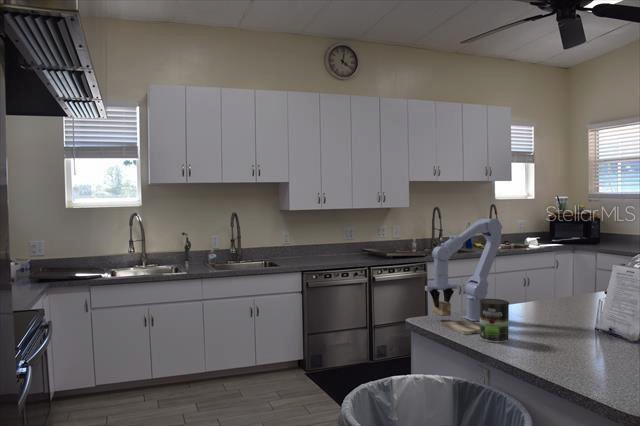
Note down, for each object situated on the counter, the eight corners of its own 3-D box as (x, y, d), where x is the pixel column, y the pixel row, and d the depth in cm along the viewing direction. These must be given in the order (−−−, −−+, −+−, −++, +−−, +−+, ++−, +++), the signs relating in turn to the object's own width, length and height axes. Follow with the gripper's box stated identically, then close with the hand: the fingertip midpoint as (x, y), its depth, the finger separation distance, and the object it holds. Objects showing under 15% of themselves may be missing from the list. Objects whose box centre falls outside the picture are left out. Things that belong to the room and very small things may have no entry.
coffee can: (506, 344, 180) (506, 304, 180) (477, 340, 185) (477, 302, 185) (510, 337, 189) (510, 299, 189) (482, 334, 194) (482, 297, 194)
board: (467, 322, 213) (467, 319, 213) (490, 332, 197) (491, 328, 197) (442, 324, 209) (442, 321, 209) (463, 334, 194) (463, 331, 194)
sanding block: (440, 311, 220) (440, 299, 220) (450, 315, 213) (450, 303, 212) (432, 311, 219) (432, 300, 219) (442, 316, 211) (442, 304, 211)
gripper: (451, 272, 221) (451, 303, 222) (421, 274, 217) (421, 306, 217) (460, 274, 214) (460, 306, 215) (429, 276, 210) (429, 309, 211)
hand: (441, 306), depth 216 cm, fingers closed on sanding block, 4 cm apart
